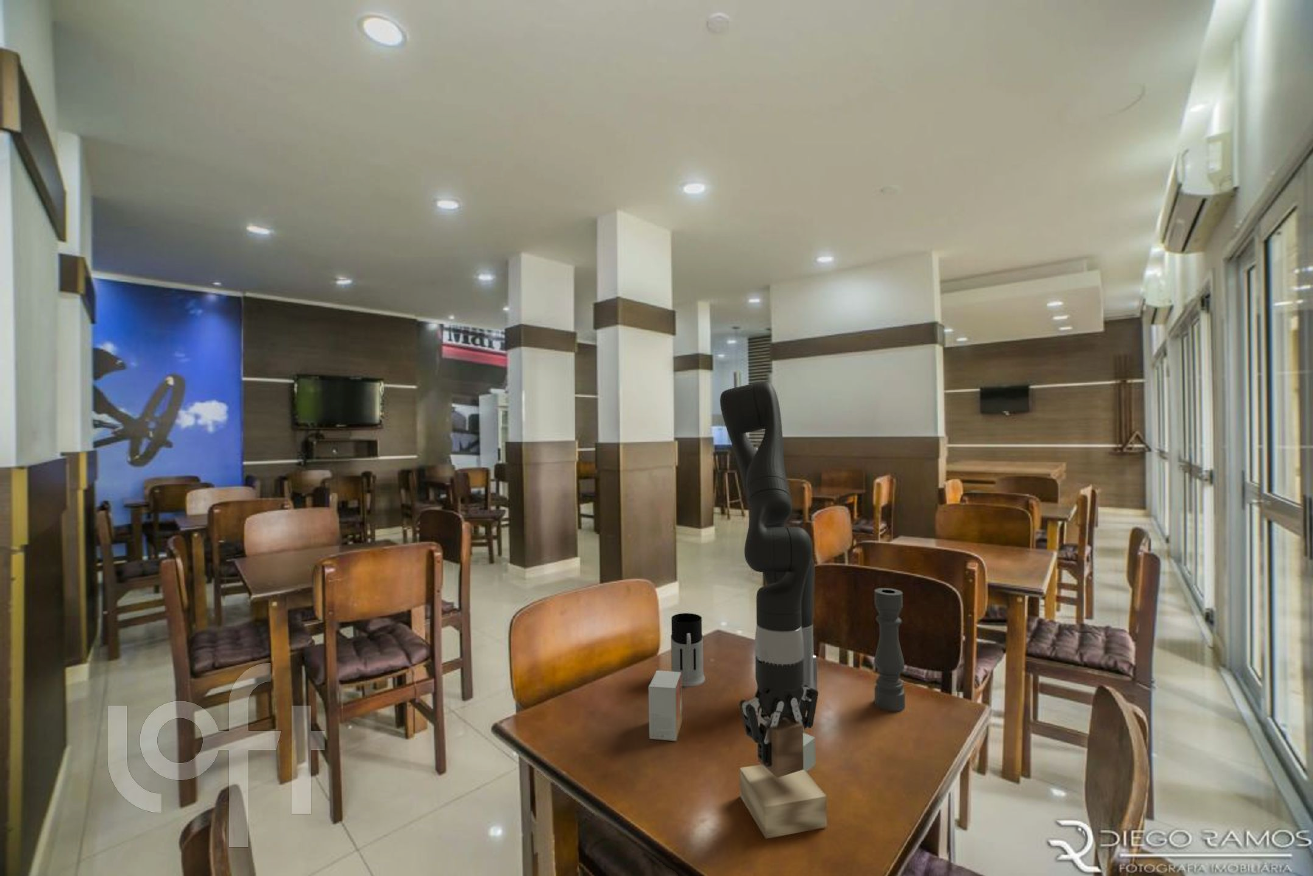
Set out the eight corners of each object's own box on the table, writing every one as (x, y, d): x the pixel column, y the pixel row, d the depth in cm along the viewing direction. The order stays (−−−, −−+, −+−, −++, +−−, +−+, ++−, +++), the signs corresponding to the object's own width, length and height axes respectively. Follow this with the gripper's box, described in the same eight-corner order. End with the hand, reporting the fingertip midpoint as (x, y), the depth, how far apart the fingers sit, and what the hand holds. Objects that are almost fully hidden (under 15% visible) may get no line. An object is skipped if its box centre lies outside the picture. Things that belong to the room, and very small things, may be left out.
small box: (676, 742, 109) (675, 688, 109) (648, 739, 110) (647, 686, 110) (682, 721, 116) (682, 671, 116) (656, 719, 118) (656, 669, 118)
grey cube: (791, 754, 104) (791, 727, 104) (815, 765, 101) (815, 737, 101) (776, 765, 101) (776, 737, 101) (800, 777, 97) (800, 748, 97)
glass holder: (703, 670, 142) (702, 612, 141) (709, 696, 127) (708, 631, 127) (669, 671, 141) (668, 612, 141) (671, 697, 127) (670, 632, 127)
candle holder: (908, 703, 123) (907, 590, 123) (900, 714, 118) (898, 597, 118) (880, 695, 127) (878, 586, 127) (870, 705, 122) (869, 592, 122)
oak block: (795, 788, 94) (795, 759, 94) (826, 829, 85) (826, 796, 85) (740, 798, 92) (740, 768, 92) (765, 840, 82) (765, 807, 82)
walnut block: (783, 753, 92) (783, 710, 92) (803, 769, 87) (803, 725, 87) (758, 760, 90) (757, 717, 90) (777, 777, 85) (776, 732, 85)
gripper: (800, 637, 95) (801, 737, 95) (728, 652, 89) (729, 758, 89) (830, 653, 88) (831, 760, 88) (755, 669, 82) (756, 785, 82)
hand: (780, 759), depth 88 cm, fingers closed on walnut block, 5 cm apart
